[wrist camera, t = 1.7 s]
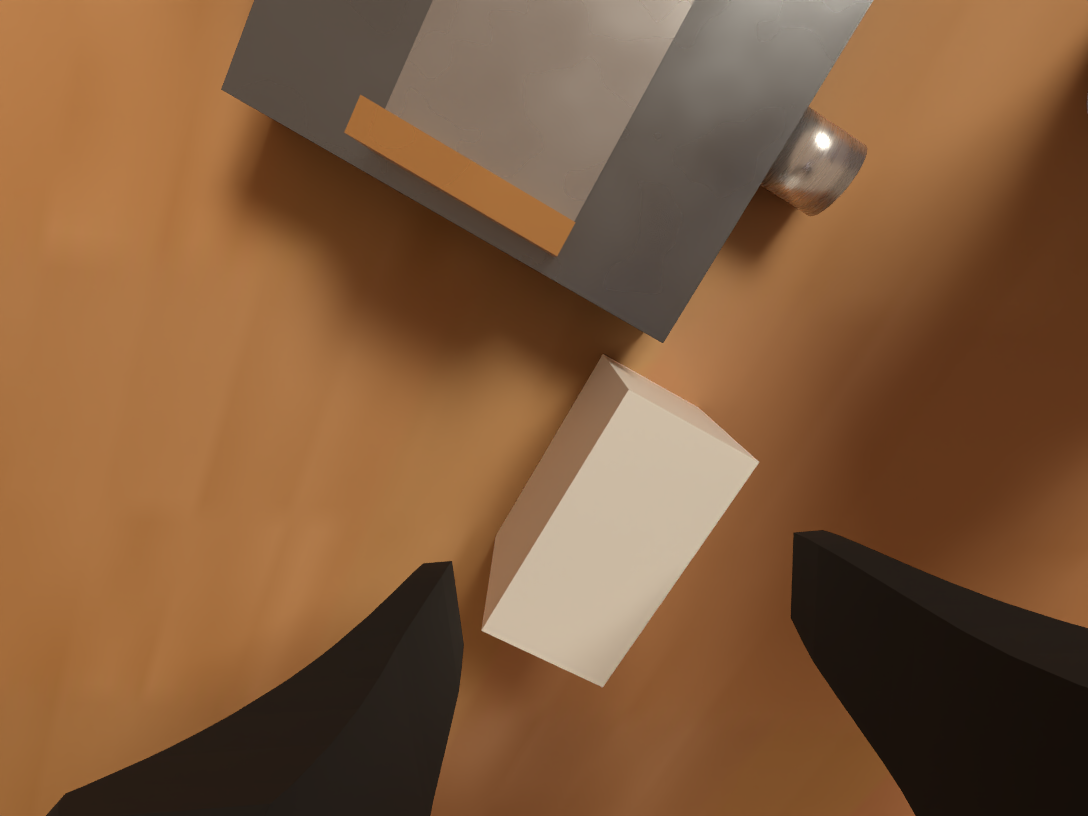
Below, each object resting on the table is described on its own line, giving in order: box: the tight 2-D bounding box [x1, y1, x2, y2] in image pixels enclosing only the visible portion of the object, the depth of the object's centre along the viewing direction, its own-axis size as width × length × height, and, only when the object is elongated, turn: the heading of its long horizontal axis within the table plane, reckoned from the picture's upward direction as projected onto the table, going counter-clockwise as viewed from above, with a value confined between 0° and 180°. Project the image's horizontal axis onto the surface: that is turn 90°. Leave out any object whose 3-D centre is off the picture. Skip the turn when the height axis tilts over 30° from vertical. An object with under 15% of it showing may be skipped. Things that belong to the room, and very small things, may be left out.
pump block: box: [481, 354, 759, 687], centre depth 16 cm, size 4×7×5 cm, turn 151°
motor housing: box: [221, 0, 873, 343], centre depth 13 cm, size 15×12×4 cm
